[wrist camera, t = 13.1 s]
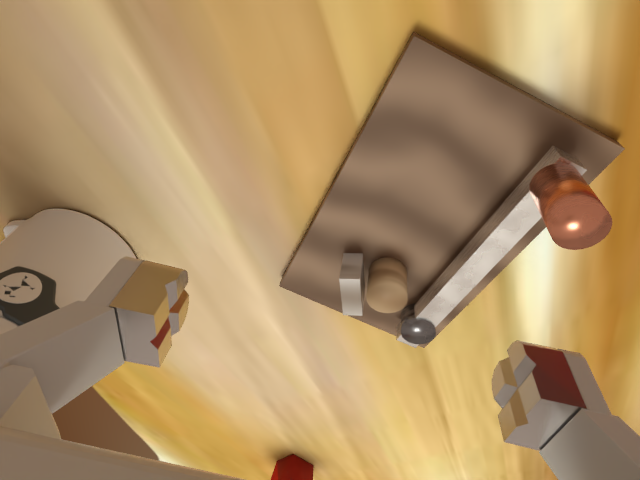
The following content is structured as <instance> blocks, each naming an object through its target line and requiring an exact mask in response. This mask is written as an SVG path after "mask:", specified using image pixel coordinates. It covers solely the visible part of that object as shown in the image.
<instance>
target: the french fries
mask: <svg viewBox="0 0 640 480" xmlns="http://www.w3.org/2000/svg"><path fill="white" fill-rule="evenodd" d="M271 480H313V465H312V464H310V463H308V462H306V461H305V460H303V459H301V458H299V457H298V456H296V455H294V454H292V455H290V456H287V457H285V458H283V459H281V460H278V461H277V463H276V466H275V469H274V472H273V474H272V477H271Z"/></svg>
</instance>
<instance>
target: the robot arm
mask: <svg viewBox="0 0 640 480" xmlns="http://www.w3.org/2000/svg"><path fill="white" fill-rule="evenodd" d="M3 231H4V235H5V239H4V240H3V241H1V242H0V480H245V479H240V478H235V477H231V476H226V475H222V474H217V473H212V472H208V471H203V470H199V469H194V468H189V467H185V466H180V465H176V464H171V463H166V462H162V461H157V460H153V459H148V458H143V457H139V456H134V455H129V454H125V453H121V452H115V451H111V450H107V449H102V448H98V447H93V446H89V445H84V444H79V443H75V442H70V441H66V440H61V437H60V433H59V430H58V428H57V425H56V423H55V421H54V418H53V416H52V413H54V412H55V411H57V410H58V409H60V408H61V407H63V406H64V405H65V404H67V403H68V402H70V401H71V400H72V399H74V398H75V397H77V396H78V395H79V394H81V393H82V392H84V391H85V390H87V389H88V388H89V387H91V386H92V385H94V384H95V383H97V382H98V381H100V380H101V379H102V378H104V377H105V376H107V375H108V374H109V373H111V372H112V371H114V370H115V369H117V368H118V367H119V366H121V365H122V364H124V361H128V362H133V363H139V364H144V365H149V366H155V367H160V366H161V364H162V362H163V361H164V359H165V357H166V355H167V353H168V351H169V349H170V348H171V346H172V341H171V336H172V335H173V334H175V333H177V332H178V331H180V329H181V327H182V325H183V323H184V320H185V317H186V314H187V311H188V304H189V295H188V293H187V292H186V291H185V290H184V288H185V286H186V285H187V283H188V274H187V271H186V270H183V269H179V268H175V267H171V266H167V265H163V264H158V263H154V262H150V261H144V260H140V259H136V257H135V255H134V253H133V252H132V250H131V249H130V247H129V246H128V245H127V244H126V243H125V241H124V240H123V239H122V238H121V237H120V236H119V235H117V234H116V233H115V232H114V231H113V230H111V229H110V228H109V227H107V226H106V225H104V224H103V223H101V222H99V221H98V220H96V219H94V218H92V217H90V216H87V215H85V214H82V213H79V212H76V211H72V210H67V209H47V210H43V211H41V212H38V213H37V214H35V215H34V216H32V217H31V218H29V219H27V220H16V221H11V222H9V223H8V224H7V225H6V226H5V227H4V229H3ZM507 351H508V355H509V357H508V358H506V359H504V360H501V361H499V363H498V364H497V366H496V368H495V369H494V373H493V378H492V391H493V396H494V399H495V400H496V402H497V403H498V404H499V405H500V406H501V408H502V410H501V411H500V413H499V415H498V418H499V422H500V427H501V431H502V435H503V439H504V442H506V443H511V444H515V445H519V446H523V447H527V448H531V449H535V450H539V451H540V452H539V453H540V454H541V456H542V457H543V459H544V460H545V461H546V463H547V464H548V466H549V467H550V468H551V470H552V471H553V473H554V474H555V475H556V477H557V478H558V480H640V436H639V435H637V434H636V433H635V432H634V431H633V430H632V429H631V428H630V427H629V426H628V425H627V424H626V423H625V422H624V421H623V420H622V419H620V418H619V417H618V416H614V415H612V414H611V412H610V410H609V408H608V406H607V404H606V402H605V400H604V397H603V395H602V393H601V391H600V389H599V387H598V385H597V383H596V381H595V378H594V376H593V374H592V372H591V370H590V368H589V366H588V364H587V361H586V359H585V358H584V357H583V356H582V355H581V354H580V353H576V352H571V351H566V350H562V349H556V348H551V347H547V346H542V345H537V344H532V343H527V342H522V341H515V342H513V343H512V344H511V345H510V347H509V348H508V349H507Z"/></svg>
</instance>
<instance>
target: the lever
mask: <svg viewBox="0 0 640 480" xmlns="http://www.w3.org/2000/svg"><path fill="white" fill-rule="evenodd" d="M586 171H587V169H586V168H585V167H584V165H583V164H582V163H581V161H580V160H579V159H578V158H576V157H575V156H573V155H571V154H569V153H567V152H565V151H563V150H561V149H559V148H557V147H555V146H552V147H551V148H550V149H549V150H548V151H547V153H546V154H545V155H544V156H543V157H542V158H541V160H540V161H539V162H538V163H537V164H536V165H535V167H534V168H533V169H532V170H531V171H530V172H529V173H528V175H527V176H526V177H525V178H524V179H523V180H522V182H521V183H520V184H519V185H518V186H517V187H516V189H515V190H514V191H513V192H512V193H511V194H510V195H509V197H508V198H507V199H506V200H505V201H504V202H503V204H502V205H501V206H500V207H499V208H498V209H497V210H496V212H495V213H494V214H493V215H492V216H491V217H490V219H489V220H488V221H487V222H486V223H485V224H484V226H483V227H482V228H481V229H480V230H479V231H478V232H477V234H476V235H475V236H474V237H473V238H472V239H471V241H470V242H469V243H468V244H467V245H466V246H465V247H464V249H463V250H462V251H461V252H460V253H459V254H458V256H457V257H456V258H455V259H454V260H453V261H452V263H451V264H450V265H449V266H448V267H447V268H446V269H445V271H444V272H443V273H442V274H441V275H440V276H439V278H438V279H437V280H436V281H435V282H434V283H433V284H432V286H431V287H430V288H429V289H428V290H427V291H426V293H425V294H424V295H423V296H422V297H421V298H420V300H419V301H418V302H417V303H415V304H410V305H407V306H406V307H404V308H403V310H402V311H401V321H400V323H399V324H398V325H397V333H396V340H398V341H400V342H403V343H405V344H408V345H410V346H412V347H415V348H416V347H417V346H418V345H419V344H425V343H428V342H430V341H432V340H433V339H434V338H435V336H436V329H435V327H436V326H437V325H438V324H439V323H440V322H441V321H442V320H443V319H444V318H445V317H446V316H447V315H448V314H449V313H450V312H451V311H452V310H453V309H454V308H455V307H456V306H457V305H458V304H459V302H460V301H461V300H462V299H463V298H464V297H465V296H466V295H467V294H468V293H469V292H470V291H471V290H472V289H473V288H474V287H475V286H476V285H477V284H478V283H479V282H480V281H481V280H482V279H483V278H484V277H485V276H486V274H487V273H488V272H489V271H490V270H491V269H492V268H493V267H494V266H495V265H496V264H497V263H498V262H499V261H500V260H501V259H502V258H503V257H504V256H505V255H506V254H507V253H508V252H509V251H510V250H511V249H512V248H513V246H514V245H515V244H516V243H517V242H518V241H519V240H520V239H521V238H522V237H523V236H524V235H525V234H526V233H527V232H528V231H529V230H530V229H531V228H532V227H533V226H534V225H535V224H536V223H537V222H538V221H539V220H540V218H541V217H542V219H543V221H544V223H545V225H546V227H547V229H548V231H549V233H550V235H551V237H552V239H553V241H554V242H555V243H556V244H557V245H558V246H560V247H563V248H566V249H572V250H577V249H584V248H588V247H591V246H593V245H595V244H597V243H598V242H600V241H601V240H603V239H604V238H605V237H606V236H607V234H608V233H609V231H610V229H611V226H612V218H611V216H610V214H609V212H608V211H607V210H606V208H605V207H604V206H603V204H602V203H601V201H600V200H599V199H598V197H597V196H596V195H595V193H594V192H593V191H592V189H591V188H590V186H589V185H588V184H587V182H586V181H585V180H584V178H583V177H582V175H583V174H584V173H585V172H586Z"/></svg>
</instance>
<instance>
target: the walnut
mask: <svg viewBox="0 0 640 480" xmlns="http://www.w3.org/2000/svg"><path fill="white" fill-rule="evenodd" d="M366 300H367V303H368V304H369V306H370V307H371V308H373V309H374V310H376V311H378V312H382V313H394V312H397V311H400V310H401V309H403V308H404V307H405V305H406V304H407V300H408V299H407V269H406V267H405V265H404V264H403V263H402V262H401V261H399V260H397V259H394V258H388V257H386V258H380V259H377V260H376V261H374V262H373V263H372V264H371V265H370V267H369V273H368V284H367V294H366Z"/></svg>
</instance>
